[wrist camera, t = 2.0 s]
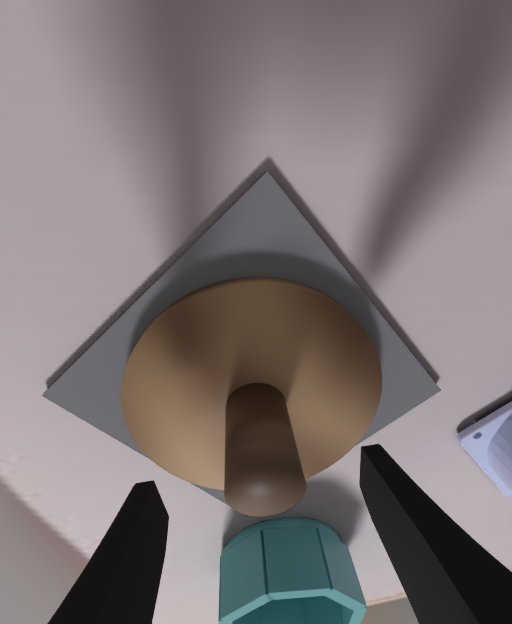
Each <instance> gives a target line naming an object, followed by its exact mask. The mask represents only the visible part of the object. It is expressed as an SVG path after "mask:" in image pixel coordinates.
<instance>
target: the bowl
mask: <svg viewBox="0 0 512 624" xmlns="http://www.w3.org/2000/svg"><path fill="white" fill-rule="evenodd" d="M366 610H367V606H366V602H365V599H364V596H363V593H362V590H361V587H360V584H359V580H358V577H357V574H356V571H355V568H354V565H353V562H352V559H351V555H350V552H349V549H348V546H347V545H345V544H343V543H342V542H341V539H340V537H339V535H338V533H337V532H336V531H335V530H334V529H333V528H331V527H330V526H328V525H327V524H325V523H322V522H320V521H317V520H313V519H308V518H299V517H287V518H277V519H272V520H267V521H264V522H260V523H257V524H255V525H252V526H250V527H248V528H246V529H244V530H242V531H240V532H239V533H238V534H236V535H235V536H234V537H232V538H231V539H230V540H229V541H228V543H227V544H226V545H225V547H224V549H223V551H222V554H221V556H220V589H219V624H361V621H362V619H363V617H364V614H365V612H366Z"/></svg>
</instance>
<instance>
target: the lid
mask: <svg viewBox="0 0 512 624" xmlns="http://www.w3.org/2000/svg"><path fill="white" fill-rule="evenodd" d="M381 393H382V370H381V364H380V360H379V357H378V354H377V351H376V349H375V347H374V345H373V343H372V341H371V339H370V337H369V336H368V334H367V333H366V332H365V330H364V329H363V327H362V326H361V325H360V324H359V323H358V322H357V321H356V319H355V318H354V317H353V316H352V315H351V314H350V313H349V312H348V311H347V310H346V309H345V308H344V307H343V306H342V305H341V304H339V303H338V302H336V301H335V300H334V299H332V298H331V297H330V296H328V295H326V294H324V293H322V292H320V291H319V290H317V289H315V288H312V287H310V286H307V285H304V284H301V283H298V282H295V281H290V280H285V279H281V278H271V277H241V278H236V279H230V280H224V281H220V282H217V283H213V284H210V285H207V286H204V287H202V288H199V289H197V290H195V291H193V292H190V293H188V294H186V295H185V296H183V297H182V298H180V299H178V300H177V301H175V302H173V303H172V304H171V305H169V306H168V307H167V308H166V309H165V310H163V311H162V312H161V313H160V314H159V315H158V316H157V317H156V318H155V319H154V320H153V321H152V322H151V323H150V325H149V326H148V327H147V328H146V330H145V331H144V333H143V334H142V336H141V337H140V339H139V340H138V342H137V344H136V346H135V348H134V349H133V351H132V353H131V355H130V357H129V360H128V362H127V364H126V366H125V370H124V374H123V378H122V382H121V394H120V398H121V408H122V413H123V416H124V420H125V424H126V426H127V428H128V430H129V432H130V434H131V436H132V438H133V439H134V441H135V442H136V444H137V445H138V447H139V448H140V449H141V450H142V451H143V452H144V453H145V454H146V455H147V457H149V458H150V459H151V460H152V461H153V462H155V463H156V464H157V465H158V466H160V467H161V468H163V469H164V470H166V471H167V472H169V473H170V474H172V475H174V476H176V477H178V478H180V479H183V480H185V481H188V482H191V483H193V484H196V485H200V486H204V487H207V488H213V489H219V490H224V496H225V500H226V502H227V503H228V505H229V506H230V507H231V508H232V509H234V510H235V511H237V512H239V513H242V514H245V515H249V516H258V517H259V516H271V515H275V514H279V513H282V512H284V511H286V510H288V509H290V508H292V507H293V506H295V505H296V504H297V503H298V502H299V501H300V500H301V499H302V497H303V496H304V493H305V490H306V481H305V479H307V478H309V477H311V476H313V475H315V474H317V473H319V472H321V471H323V470H324V469H326V468H328V467H330V466H331V465H333V464H334V463H335V462H337V461H338V460H339V459H341V458H342V457H343V456H344V455H345V454H347V453H348V452H349V451H350V450H351V449H352V448H353V447H354V446H355V445H356V444H357V443H358V441H359V440H360V439H361V438H362V436H363V435H364V434H365V432H366V431H367V429H368V428H369V426H370V424H371V422H372V420H373V419H374V417H375V414H376V411H377V409H378V406H379V402H380V398H381Z"/></svg>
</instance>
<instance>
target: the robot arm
mask: <svg viewBox="0 0 512 624" xmlns="http://www.w3.org/2000/svg"><path fill="white" fill-rule="evenodd" d="M457 439H458V441H459V442H460V443H461V444H462V446H463V447H464V448H465V449H466V450H467V451H468V453H469V454H470V455H471V456H472V457H473V459H474V460H475V461H476V462H477V463H478V464H479V466H480V467H481V468H482V469H483V470H484V471H485V473H486V474H487V475H488V476H489V477H490V479H491V480H492V481H493V482H494V483H495V484H496V486H497V487H498V488H499V489H500V490H501V491H502V493H503V494H504V495H505V496H512V401H511V402H509V403H508V404H506V405H504V406H503V407H501V408H499V409H498V410H496V411H494V412H493V413H491V414H489V415H488V416H486V417H484V418H483V419H481V420H479V421H478V422H476V423H474V424H473V425H471V426H469V427H468V428H466V429H464V430H463V431H461V432H460V433H459V434H458V436H457ZM360 488H361V491H362V494H363V497H364V499H365V502H366V505H367V508H368V511H369V513H370V516H371V519H372V521H373V523H374V525H375V528H376V530H377V532H378V534H379V536H380V539H381V541H382V543H383V545H384V547H385V549H386V552H387V554H388V556H389V558H390V560H391V562H392V564H393V567H394V569H395V571H396V573H397V575H398V577H399V580H400V582H401V584H402V586H403V588H404V590H405V593H406V595H407V597H408V599H409V601H410V603H411V606H412V608H413V610H414V613H415V615H416V617H417V620H418V622H419V624H512V572H511V571H510V570H509V569H507V568H506V567H505V566H504V565H503V564H501V563H500V562H499V561H498V560H497V559H495V558H494V557H493V556H492V555H491V554H490V553H489V552H487V551H486V550H485V549H484V548H483V547H482V546H481V545H480V544H478V543H477V542H476V541H475V540H474V539H473V538H472V537H471V536H470V535H468V534H467V533H466V532H465V531H464V530H463V529H462V528H461V527H460V526H459V525H458V524H457V523H455V522H454V521H453V520H452V519H451V518H450V517H449V516H448V515H447V514H446V513H445V512H444V511H443V510H442V509H441V508H440V507H439V506H438V505H437V504H436V503H435V502H434V501H433V500H432V499H431V498H430V497H429V496H428V495H427V494H426V493H425V492H424V491H423V490H422V489H421V488H420V487H419V486H418V485H417V484H416V483H415V482H414V481H413V480H412V479H411V478H410V477H409V476H408V475H407V474H406V473H405V472H404V470H403V469H402V468H401V467H400V466H399V465H398V464H397V463H396V462H395V461H394V460H393V458H392V457H391V456H390V455H389V454H388V453H387V452H386V451H385V450H384V448H383V447H382V446H381V445H379V444H375V445H369V446H363V447H361V462H360ZM168 521H169V516H168V513H167V511H166V508H165V506H164V504H163V501H162V499H161V497H160V494H159V492H158V489H157V487H156V485H155V482H154V481H147V482H141V483H136V484H135V485H134V486H133V488H132V490H131V492H130V493H129V495H128V497H127V499H126V500H125V502H124V504H123V506H122V507H121V509H120V511H119V512H118V514H117V516H116V518H115V519H114V521H113V523H112V524H111V526H110V528H109V529H108V531H107V533H106V534H105V536H104V538H103V539H102V541H101V543H100V544H99V546H98V548H97V549H96V551H95V552H94V554H93V556H92V557H91V559H90V561H89V562H88V564H87V565H86V567H85V569H84V570H83V572H82V573H81V575H80V576H79V578H78V579H77V581H76V582H75V584H74V585H73V587H72V588H71V590H70V592H69V593H68V594H67V596H66V597H65V599H64V600H63V602H62V603H61V605H60V607H59V608H58V609H57V611H56V612H55V614H54V615H53V617H52V618H51V619H50V621H49V622H48V624H152V619H153V614H154V609H155V604H156V599H157V594H158V589H159V584H160V579H161V574H162V568H163V563H164V558H165V552H166V542H167V532H168Z"/></svg>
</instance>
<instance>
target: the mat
mask: <svg viewBox="0 0 512 624" xmlns="http://www.w3.org/2000/svg"><path fill="white" fill-rule="evenodd" d="M241 277H271V278H281V279H285V280H290V281H295V282H298V283H301V284H304V285H307V286H310V287H312V288H315V289H317V290H319V291H320V292H322V293H324V294H326V295H328V296H330V297H331V298H332V299H334V300H335V301H336V302H338V303H339V304H341V305H342V306H343V307H344V308H345V309H346V310H347V311H348V312H349V313H350V314H351V315H352V316H353V317H354V318H355V319H356V321H357V322H358V323H359V324H360V325H361V326H362V327H363V329H364V330H365V332H366V333H367V334H368V336H369V337H370V339H371V341H372V343H373V345H374V347H375V349H376V351H377V354H378V357H379V360H380V364H381V370H382V393H381V398H380V402H379V406H378V409H377V411H376V414H375V417H374V419H373V420H372V422H371V424H370V426H369V428H368V429H367V431H366V432H365V434H364V435H363V436H362V438H361V439H360V440H359V441H358V443H357V444H359V443H360V442H362V441H364V440H365V439H367V438H368V437H370V436H371V435H373V434H374V433H376V432H377V431H379V430H380V429H382V428H384V427H385V426H387V425H388V424H390V423H391V422H393V421H394V420H396V419H397V418H399V417H401V416H402V415H404V414H405V413H407V412H408V411H410V410H411V409H413V408H414V407H416V406H418V405H419V404H421V403H422V402H424V401H425V400H427V399H428V398H430V397H431V396H433V395H434V394H436V393H438V392H439V391H441V389H440V388H439V387H438V386H437V384H436V383H435V382H434V381H433V379H432V378H431V377H430V376H429V374H428V373H427V372H426V371H425V369H424V368H423V367H422V365H421V364H420V363H419V362H418V360H417V359H416V358H415V357H414V355H413V354H412V353H411V352H410V350H409V349H408V348H407V347H406V345H405V344H404V343H403V342H402V340H401V339H400V338H399V336H398V335H397V334H396V333H395V331H394V330H393V329H392V328H391V326H390V325H389V324H388V323H387V321H386V320H385V319H384V318H383V316H382V315H381V314H380V312H379V311H378V310H377V309H376V307H375V306H374V305H373V304H372V302H371V301H370V300H369V299H368V297H367V296H366V295H365V294H364V292H363V291H362V290H361V289H360V287H359V286H358V285H357V283H356V282H355V281H354V280H353V278H352V277H351V276H350V275H349V273H348V272H347V271H346V270H345V268H344V267H343V266H342V265H341V263H340V262H339V261H338V259H337V258H336V257H335V256H334V254H333V253H332V252H331V251H330V249H329V248H328V247H327V246H326V244H325V243H324V242H323V241H322V239H321V238H320V237H319V236H318V234H317V233H316V232H315V230H314V229H313V228H312V227H311V225H310V224H309V223H308V222H307V220H306V219H305V218H304V217H303V215H302V214H301V213H300V212H299V210H298V209H297V208H296V206H295V205H294V204H293V203H292V201H291V200H290V199H289V198H288V196H287V195H286V194H285V193H284V191H283V190H282V189H281V188H280V186H279V185H278V184H277V183H276V181H275V180H274V179H273V177H272V176H271V175H270V174H269V172H268V171H266V172H265V173H264V174H263V175H262V176H261V177H260V178H259V179H258V180H257V181H256V182H255V183H254V184H253V185H252V186H251V187H250V188H249V189H248V190H247V191H246V192H245V193H244V194H243V195H242V196H241V197H240V198H239V199H238V200H237V201H236V202H235V203H234V204H233V205H232V206H231V207H230V208H229V209H228V210H227V211H226V212H225V213H224V214H223V215H222V216H221V217H220V218H219V219H218V220H217V221H216V222H215V223H214V224H213V225H212V226H211V227H210V228H209V229H208V230H207V231H206V232H205V233H204V234H203V235H202V236H201V237H200V238H199V239H198V240H197V241H196V242H195V243H194V244H193V245H192V246H191V247H190V248H189V249H188V250H187V251H186V252H185V253H184V254H183V255H182V256H181V257H180V258H179V259H178V260H177V261H176V262H175V263H174V264H173V265H172V266H171V267H170V268H169V269H168V270H167V271H166V272H165V273H164V274H163V275H162V276H161V277H160V278H159V279H158V280H157V281H156V282H155V283H154V284H153V285H152V286H151V287H150V288H149V289H148V290H147V291H146V292H145V293H144V294H143V295H142V296H141V297H140V298H139V299H138V300H137V301H136V302H135V303H134V304H133V305H132V306H131V307H130V308H129V309H127V310H126V311H125V312H124V313H123V314H122V315H121V316H120V317H119V318H118V319H117V320H116V321H115V322H114V323H113V324H112V325H111V326H110V327H109V328H108V329H107V330H106V331H105V332H104V333H103V334H102V335H101V336H100V337H99V338H98V339H97V340H96V341H95V342H94V343H93V344H92V345H91V346H90V347H89V348H88V349H87V350H86V351H85V352H84V353H83V354H82V355H81V356H80V357H79V358H78V359H77V360H76V361H75V362H74V363H73V364H72V365H71V366H70V367H69V368H68V369H67V370H66V371H65V372H64V373H63V374H62V375H61V376H60V377H59V378H58V379H57V380H56V381H55V382H54V383H53V384H52V385H51V386H50V387H49V388H48V389H47V390H46V391H45V392H44V394H43V395H42V396H43V397H45V398H47V399H48V400H50V401H52V402H54V403H55V404H57V405H59V406H60V407H62V408H64V409H65V410H67V411H69V412H71V413H72V414H74V415H76V416H77V417H79V418H81V419H82V420H84V421H86V422H88V423H89V424H91V425H93V426H94V427H96V428H98V429H99V430H101V431H103V432H105V433H106V434H108V435H110V436H111V437H113V438H115V439H116V440H118V441H120V442H122V443H123V444H125V445H127V446H128V447H130V448H132V449H134V450H135V451H137V452H139V453H140V454H142V455H144V456H145V457H147V455H146V454H145V453H144V452H143V451H142V450H141V449H140V448H139V447H138V445H137V444H136V442H135V441H134V439H133V438H132V436H131V434H130V432H129V430H128V428H127V426H126V424H125V420H124V416H123V413H122V408H121V398H120V394H121V382H122V378H123V374H124V370H125V366H126V364H127V362H128V360H129V357H130V355H131V353H132V351H133V349H134V348H135V346H136V344H137V342H138V340H139V339H140V337H141V336H142V334H143V333H144V331H145V330H146V328H147V327H148V326H149V325H150V323H151V322H152V321H153V320H154V319H155V318H156V317H157V316H158V315H159V314H160V313H161V312H162V311H163V310H165V309H166V308H167V307H168V306H169V305H171V304H172V303H173V302H175V301H177V300H178V299H180V298H182V297H183V296H185V295H186V294H188V293H190V292H193V291H195V290H197V289H199V288H202V287H204V286H207V285H210V284H213V283H217V282H220V281H224V280H230V279H236V278H241ZM357 444H356V445H357ZM356 445H355V446H356ZM147 458H149V457H147ZM149 459H150V458H149ZM190 483H191V482H190ZM191 484H193V483H191ZM193 485H195V486H196V487H198V488H200V489H202V490H203V491H205V492H207V493H208V494H210V495H212V496H214V497H215V498H217V499H219V500H220V501H222V502H224V503H225V504H227V505H228V503H227V502H226V500H225V496H224V490H219V489H213V488H207V487H204V486H200V485H196V484H193ZM244 515H245V514H244ZM246 516H248V515H246Z"/></svg>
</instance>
